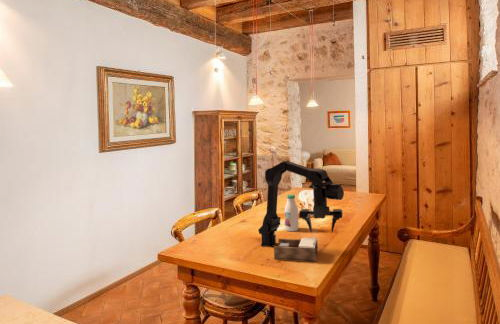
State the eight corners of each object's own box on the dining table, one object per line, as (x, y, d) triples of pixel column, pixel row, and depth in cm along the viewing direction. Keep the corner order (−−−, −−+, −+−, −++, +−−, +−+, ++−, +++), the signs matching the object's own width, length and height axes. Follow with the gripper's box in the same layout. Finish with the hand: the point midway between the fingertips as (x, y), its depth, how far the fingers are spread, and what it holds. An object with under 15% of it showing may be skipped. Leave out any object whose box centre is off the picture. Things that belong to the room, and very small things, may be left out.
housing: (274, 259, 169) (273, 247, 168) (279, 249, 180) (278, 238, 180) (315, 261, 164) (315, 249, 163) (317, 252, 175) (317, 240, 175)
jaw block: (279, 254, 172) (279, 245, 172) (281, 251, 176) (280, 242, 175) (287, 254, 171) (287, 246, 170) (289, 251, 175) (289, 243, 174)
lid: (298, 247, 165) (298, 243, 165) (301, 239, 176) (301, 235, 176) (314, 248, 163) (314, 244, 163) (316, 239, 175) (316, 235, 174)
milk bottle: (297, 227, 215) (296, 193, 213) (299, 231, 208) (298, 196, 205) (284, 227, 215) (283, 194, 213) (286, 232, 208) (284, 196, 205)
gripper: (296, 202, 160) (298, 237, 162) (341, 201, 155) (342, 238, 157) (300, 196, 171) (301, 229, 173) (341, 196, 166) (343, 230, 168)
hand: (321, 232), depth 167 cm, fingers open, 9 cm apart
